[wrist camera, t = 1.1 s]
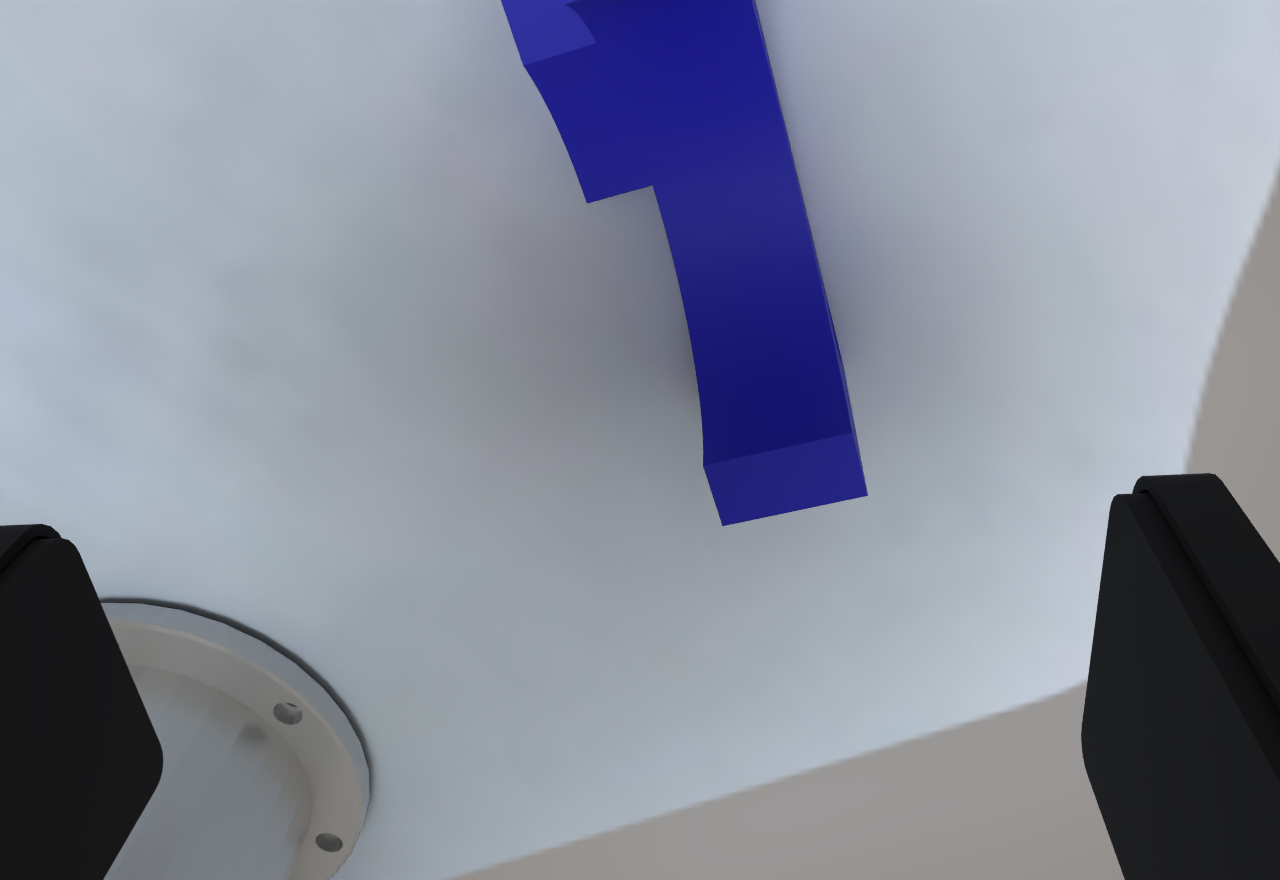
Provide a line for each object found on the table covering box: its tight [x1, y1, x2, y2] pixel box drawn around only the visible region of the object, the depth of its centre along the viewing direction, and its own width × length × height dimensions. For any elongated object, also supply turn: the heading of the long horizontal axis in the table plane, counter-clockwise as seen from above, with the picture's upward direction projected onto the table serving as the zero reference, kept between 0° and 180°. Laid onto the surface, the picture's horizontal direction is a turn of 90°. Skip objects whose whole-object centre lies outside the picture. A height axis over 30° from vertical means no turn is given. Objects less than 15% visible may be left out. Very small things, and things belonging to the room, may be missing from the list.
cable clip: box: [501, 0, 868, 526], centre depth 23 cm, size 12×4×6 cm, turn 17°
